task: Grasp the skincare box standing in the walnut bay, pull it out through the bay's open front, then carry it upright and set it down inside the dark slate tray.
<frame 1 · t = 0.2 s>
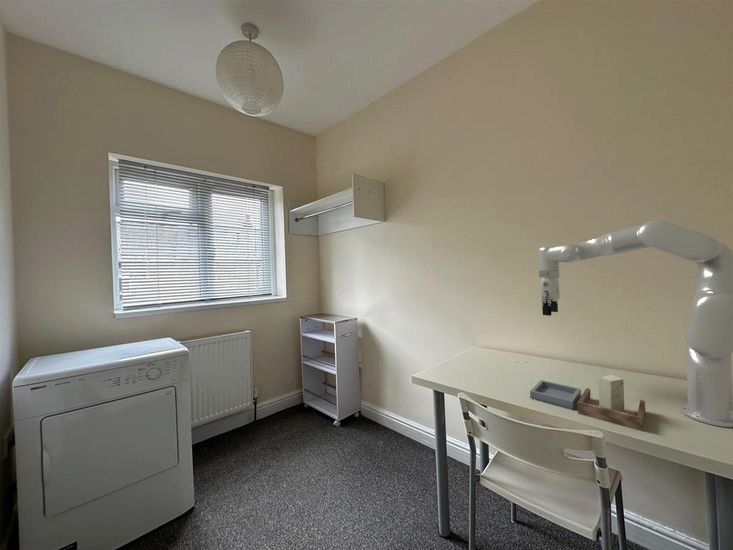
hand: (550, 313, 126), 31 cm above the table, tool pointing down, fingers open, 9 cm apart
skincare box: (611, 412, 101), on the table
tray: (555, 397, 114), on the table
bay: (611, 412, 100), on the table
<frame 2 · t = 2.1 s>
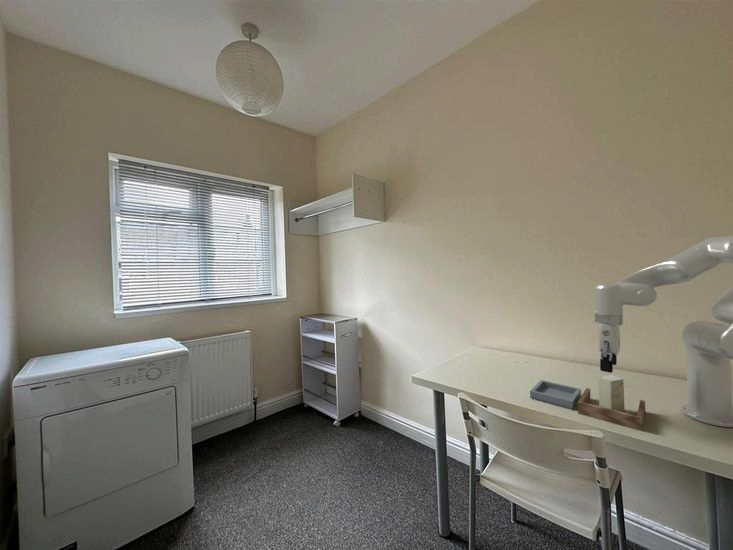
hand: (608, 367, 101), 16 cm above the table, tool pointing down, fingers open, 9 cm apart
nothing on the table moved.
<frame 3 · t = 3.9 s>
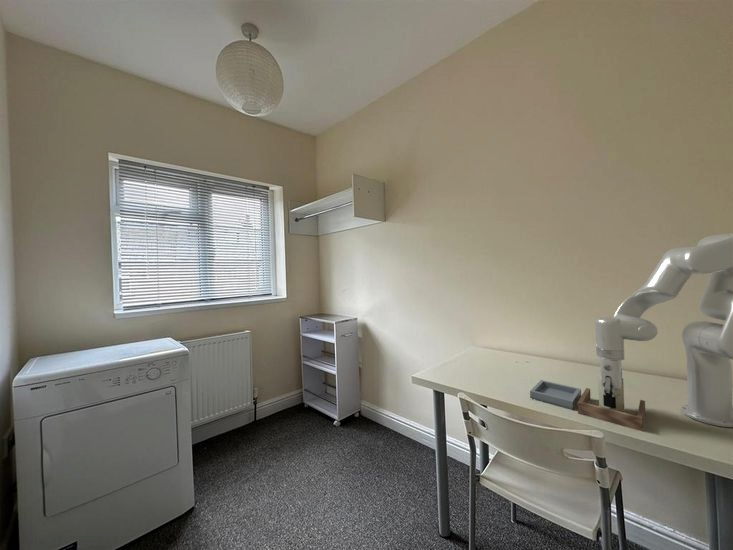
hand: (611, 402, 101), 3 cm above the table, tool pointing down, fingers closed on skincare box, 7 cm apart
skincare box: (611, 412, 101), on the table, touching gripper
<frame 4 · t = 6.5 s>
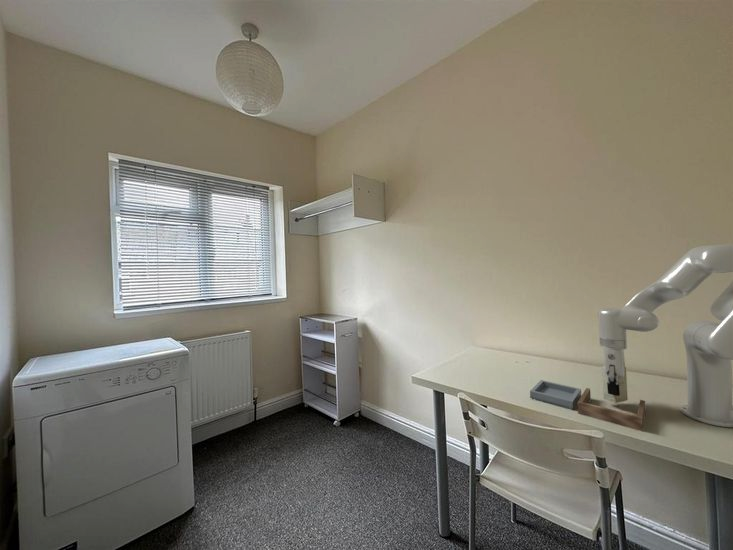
hand: (614, 390, 105), 6 cm above the table, tool pointing down, fingers closed on skincare box, 7 cm apart
skincare box: (615, 399, 105), point 2 cm above the table, touching gripper
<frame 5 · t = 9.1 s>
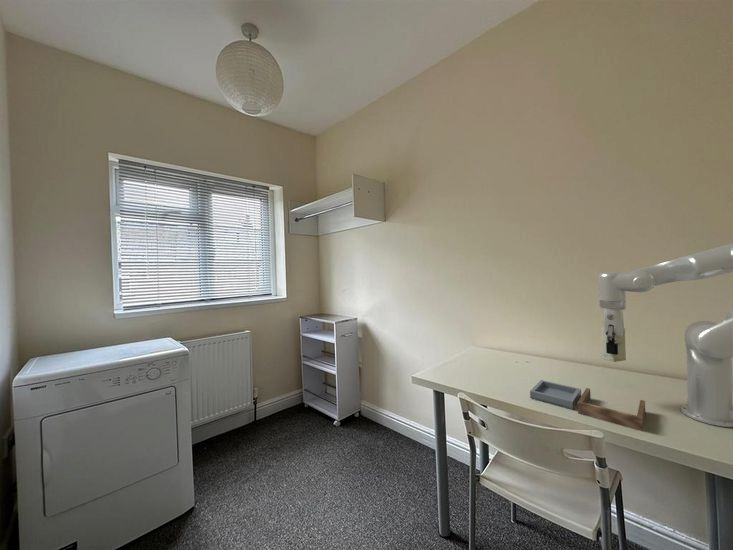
hand: (613, 350, 109), 19 cm above the table, tool pointing down, fingers closed on skincare box, 7 cm apart
skincare box: (613, 360, 109), point 15 cm above the table, touching gripper
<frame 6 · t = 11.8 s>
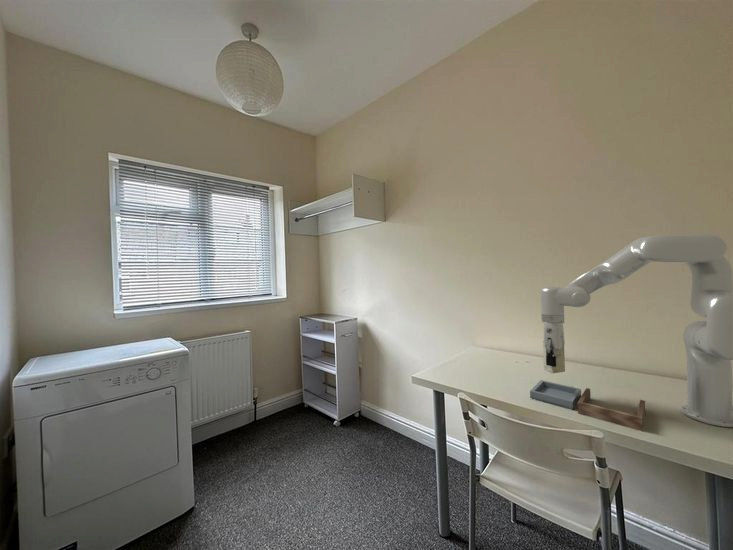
hand: (554, 362, 113), 14 cm above the table, tool pointing down, fingers closed on skincare box, 7 cm apart
skincare box: (554, 371, 113), point 10 cm above the table, touching gripper
when the fingers open (5 cm above the table, at t = 14.2 s): skincare box drops 1 cm, resting on tray.
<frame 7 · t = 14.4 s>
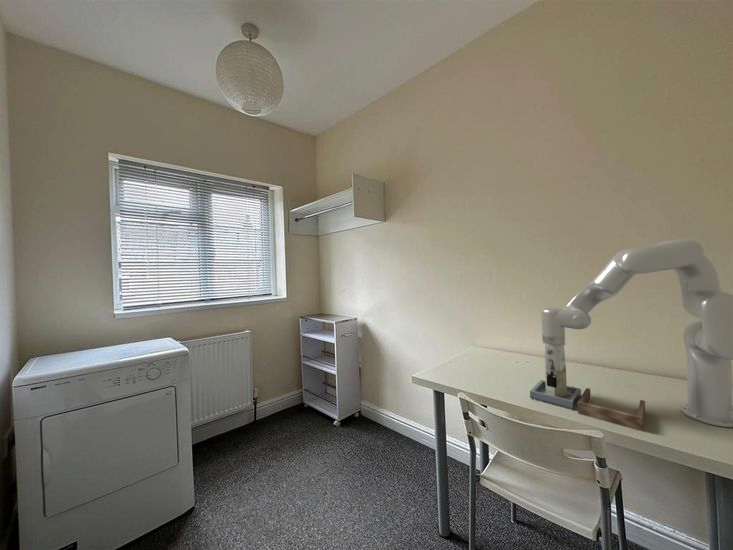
hand: (555, 382, 113), 6 cm above the table, tool pointing down, fingers open, 9 cm apart
skincare box: (556, 395, 114), point 1 cm above the table, touching tray
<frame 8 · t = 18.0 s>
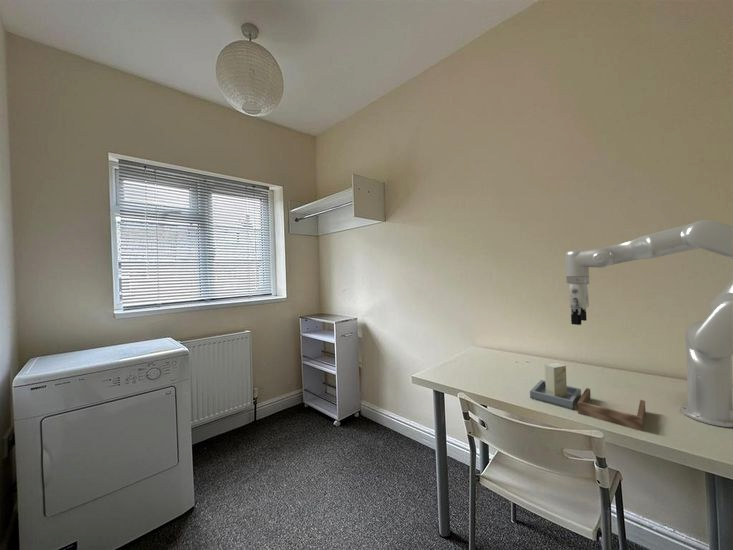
hand: (579, 322, 117), 28 cm above the table, tool pointing down, fingers open, 9 cm apart
nothing on the table moved.
at the end: skincare box inside the target area on the tray (0.4 cm from its centre), point 0.6 cm above the tray's base; skincare box tilted 0°; the gripper is holding nothing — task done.
